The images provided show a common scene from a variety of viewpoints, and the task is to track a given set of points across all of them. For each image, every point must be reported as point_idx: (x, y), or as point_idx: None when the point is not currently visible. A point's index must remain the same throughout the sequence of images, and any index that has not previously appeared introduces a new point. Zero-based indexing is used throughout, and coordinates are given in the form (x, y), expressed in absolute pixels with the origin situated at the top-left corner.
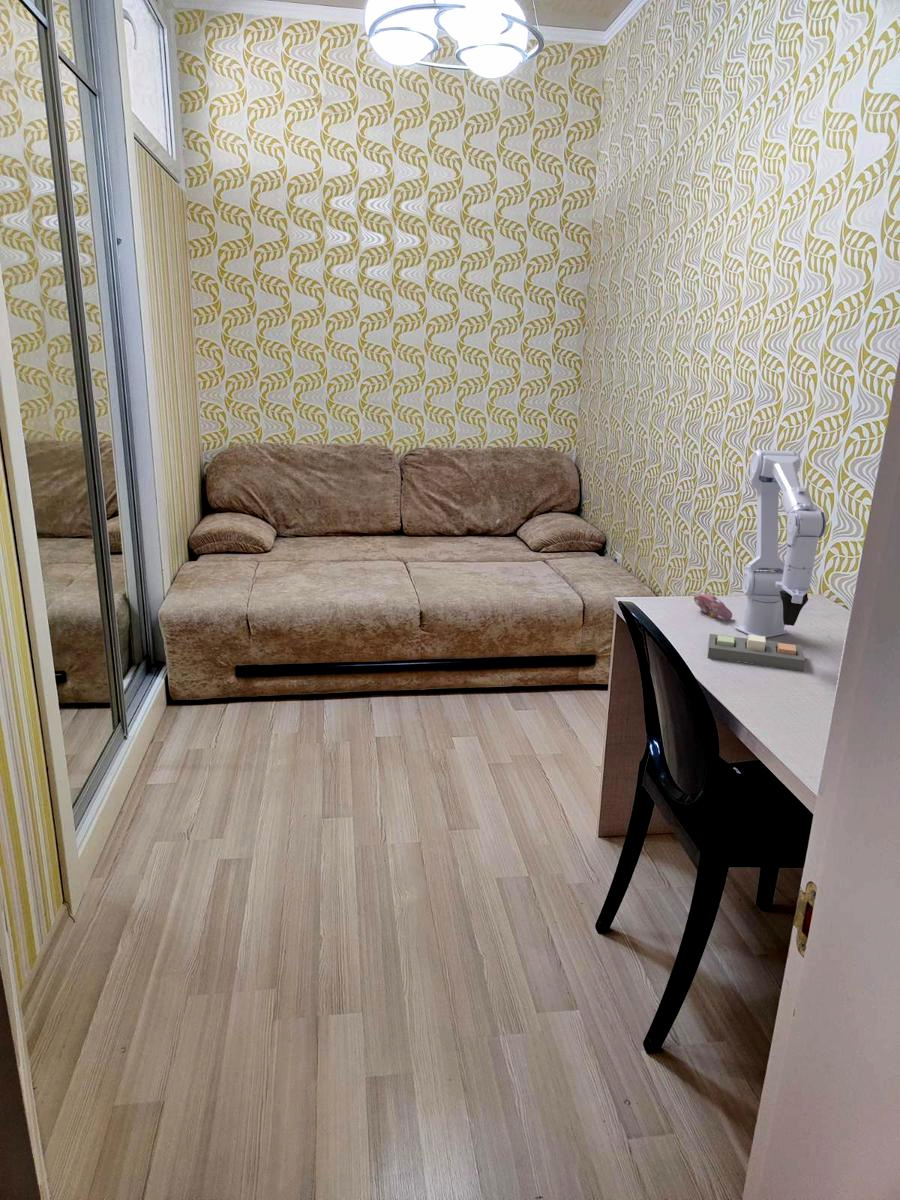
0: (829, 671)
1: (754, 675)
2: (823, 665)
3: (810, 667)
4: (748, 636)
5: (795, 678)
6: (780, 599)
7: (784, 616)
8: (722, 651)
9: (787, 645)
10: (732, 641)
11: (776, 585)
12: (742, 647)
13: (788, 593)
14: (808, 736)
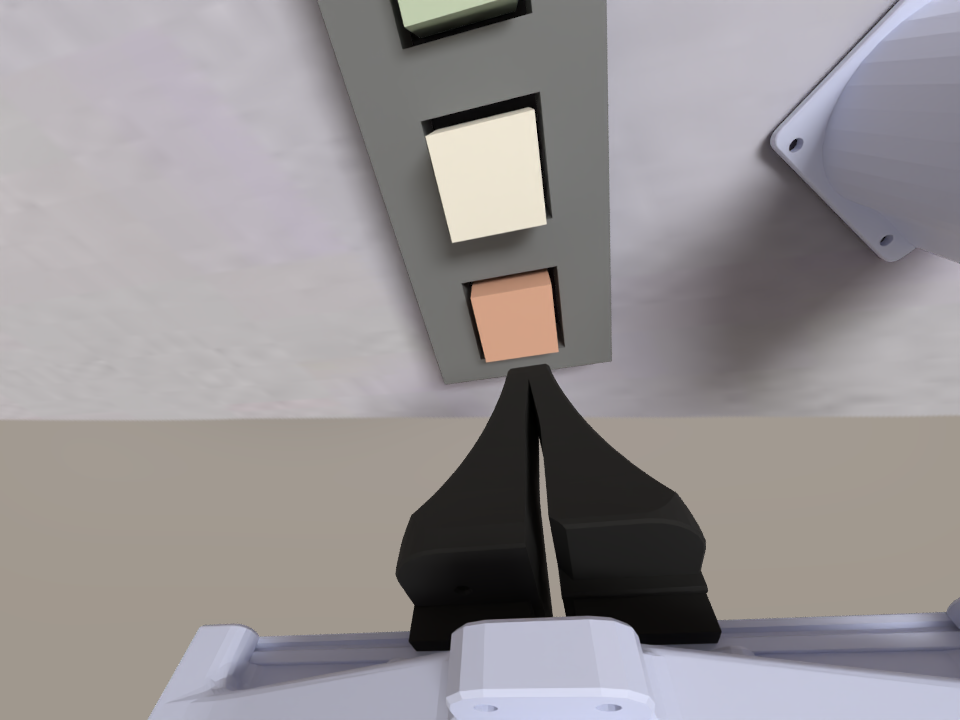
0: None
1: (271, 208)
2: None
3: None
4: (492, 120)
5: (364, 344)
6: None
7: (499, 404)
8: None
9: (535, 325)
10: (421, 4)
11: (453, 654)
12: (428, 97)
13: (537, 595)
14: (15, 405)
